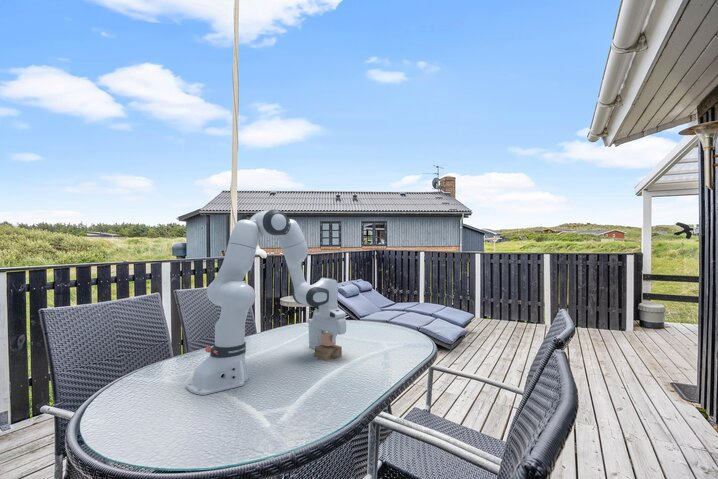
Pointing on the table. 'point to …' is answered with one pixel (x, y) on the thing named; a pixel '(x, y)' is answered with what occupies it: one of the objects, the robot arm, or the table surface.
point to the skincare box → (314, 336)
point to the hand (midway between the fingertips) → (328, 340)
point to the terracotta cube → (327, 339)
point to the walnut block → (328, 352)
